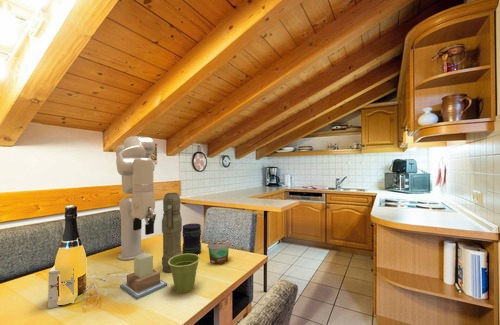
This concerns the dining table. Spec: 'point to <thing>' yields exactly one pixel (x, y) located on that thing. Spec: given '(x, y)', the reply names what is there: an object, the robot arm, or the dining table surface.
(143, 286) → the walnut plinth
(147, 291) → the blueprint mat
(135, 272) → the sage pillar block
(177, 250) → the thermos
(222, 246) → the food container
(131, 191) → the robot arm
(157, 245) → the dining table surface
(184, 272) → the plant pot
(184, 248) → the storage jar
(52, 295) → the supplement box
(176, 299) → the dining table surface
